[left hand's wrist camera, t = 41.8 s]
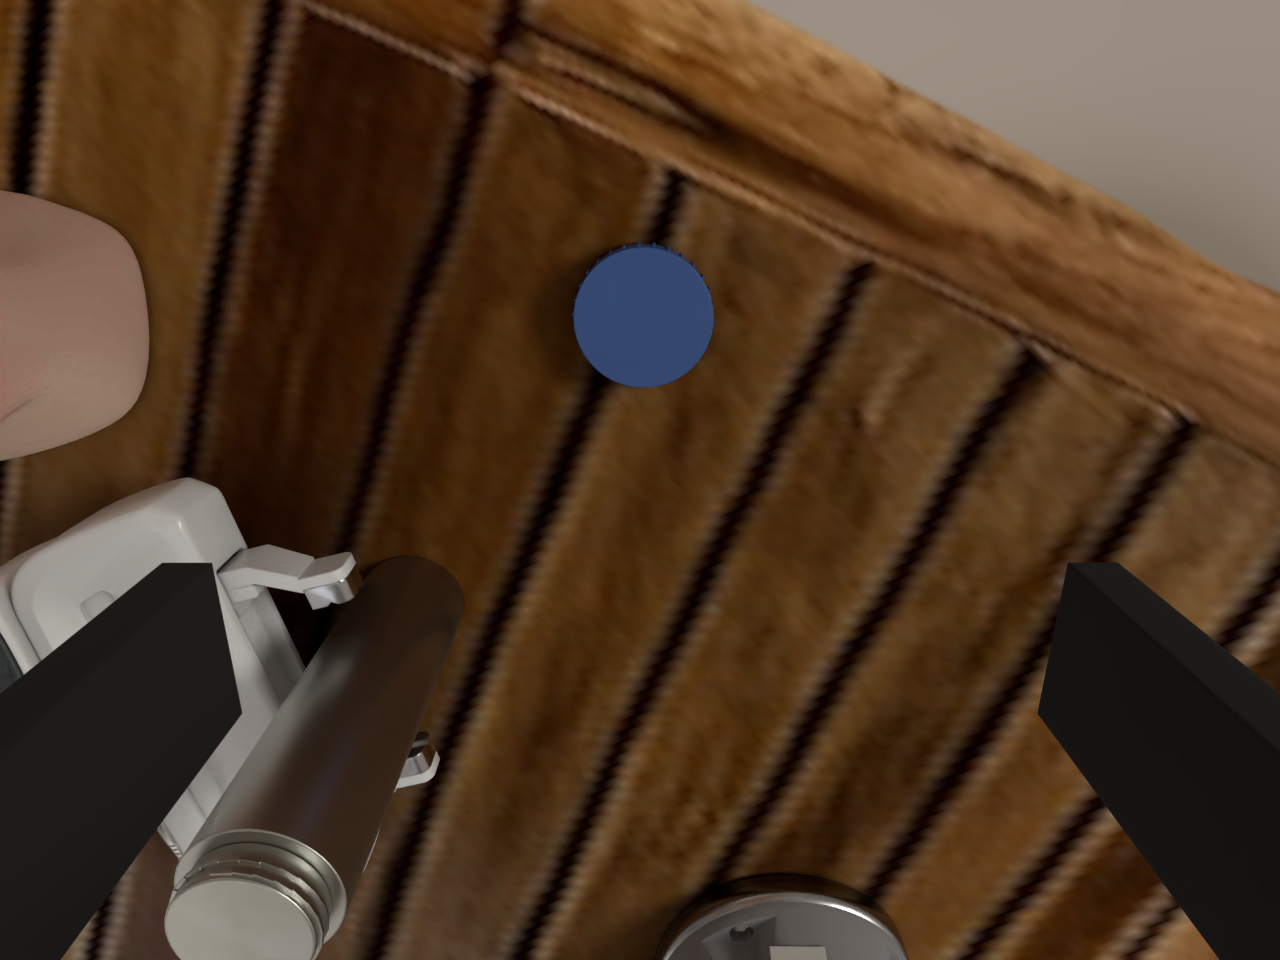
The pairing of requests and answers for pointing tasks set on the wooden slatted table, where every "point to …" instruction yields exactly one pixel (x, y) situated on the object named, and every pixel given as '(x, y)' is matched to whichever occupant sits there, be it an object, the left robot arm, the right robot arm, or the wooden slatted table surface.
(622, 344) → the lid
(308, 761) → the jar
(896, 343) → the wooden slatted table surface
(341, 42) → the wooden slatted table surface
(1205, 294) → the wooden slatted table surface
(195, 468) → the wooden slatted table surface
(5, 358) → the anatomical model
